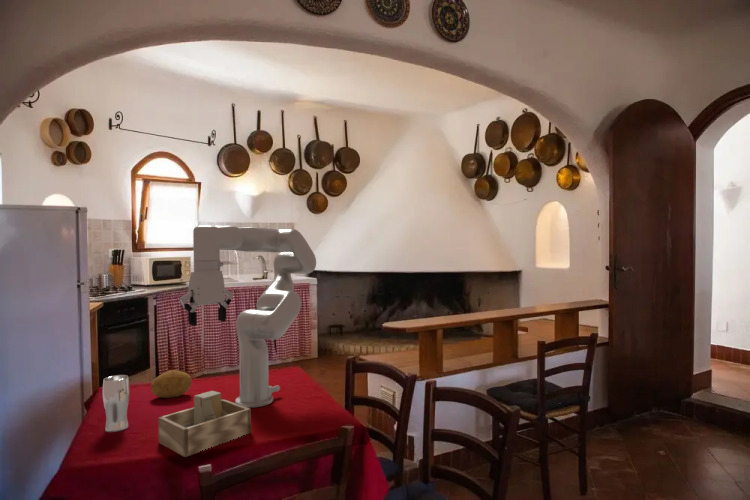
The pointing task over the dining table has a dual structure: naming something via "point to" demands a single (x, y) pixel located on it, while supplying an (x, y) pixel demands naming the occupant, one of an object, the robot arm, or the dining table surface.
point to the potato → (171, 384)
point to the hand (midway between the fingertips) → (207, 323)
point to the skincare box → (207, 407)
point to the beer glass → (116, 402)
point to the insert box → (203, 429)
